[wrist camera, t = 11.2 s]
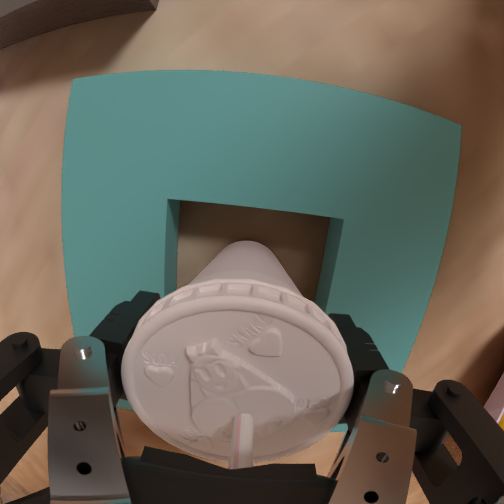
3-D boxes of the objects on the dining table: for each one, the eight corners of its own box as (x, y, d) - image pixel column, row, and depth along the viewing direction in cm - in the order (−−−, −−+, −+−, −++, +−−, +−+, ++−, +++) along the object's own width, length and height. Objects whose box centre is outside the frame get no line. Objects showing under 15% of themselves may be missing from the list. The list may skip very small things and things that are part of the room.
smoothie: (217, 338, 18) (173, 575, 4) (168, 242, 16) (-17, 451, 3) (320, 302, 17) (409, 546, 3) (280, 195, 15) (417, 407, 2)
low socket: (437, 128, 14) (461, 125, 12) (364, 406, 20) (373, 429, 17) (95, 87, 14) (72, 78, 11) (102, 378, 19) (89, 398, 17)
